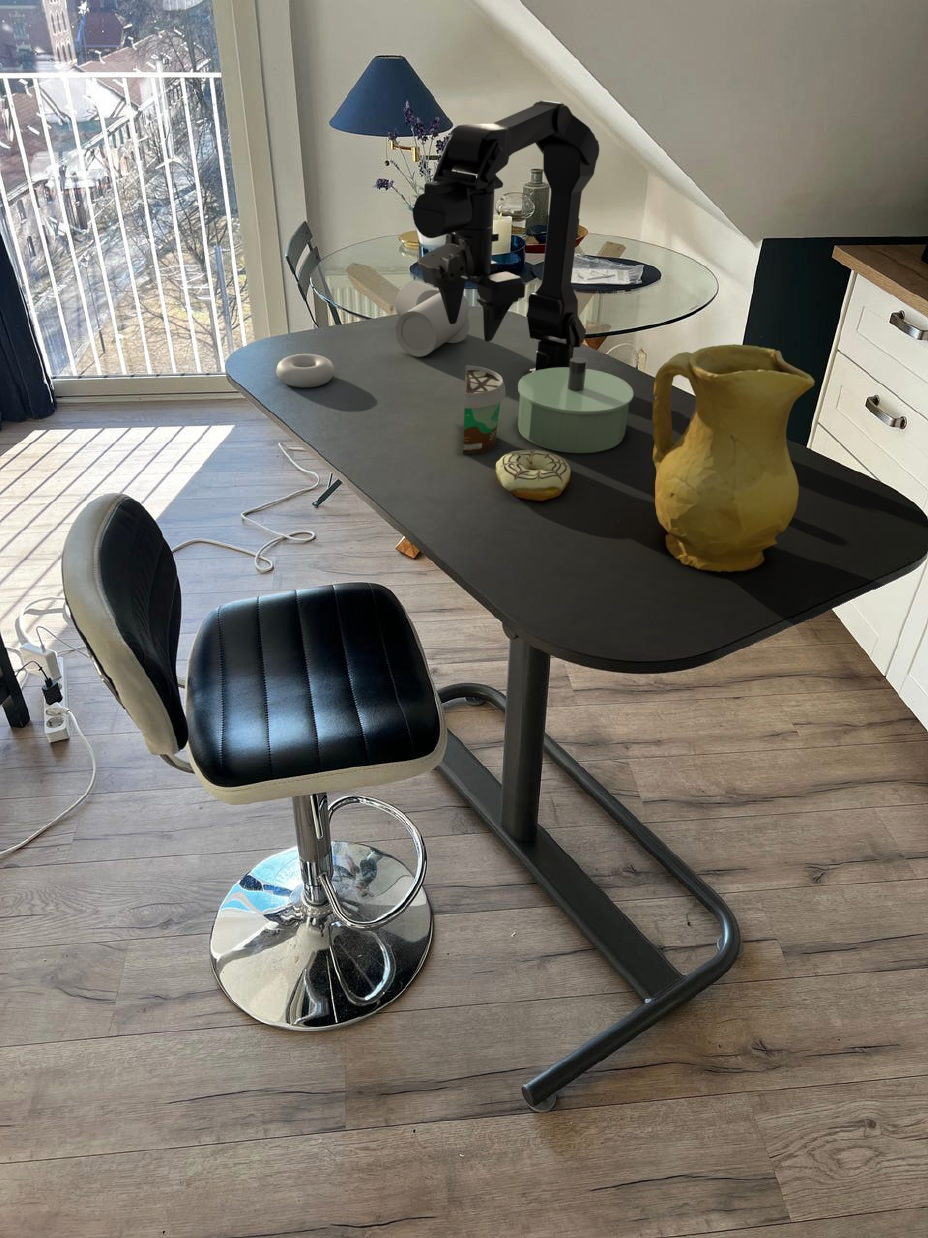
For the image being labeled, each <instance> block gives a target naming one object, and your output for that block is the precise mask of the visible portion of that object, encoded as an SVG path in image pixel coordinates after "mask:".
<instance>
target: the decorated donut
mask: <svg viewBox="0 0 928 1238" xmlns="http://www.w3.org/2000/svg"><path fill="white" fill-rule="evenodd" d="M571 472H572V471H571V467H570V465H569V463H568V462H567V461H566V460H565V459H564V458H563V457H561V456H559V455H557V454H555V453H552V452H549V451H547V450H546V451H545V450H541V449H520V450H514V451H510V452H507V453H505V454H504V455H503V456H501V457H500V459H498V460H497V461H496V463H495V473H496V477H497V479H498V482H499V483H500V486H502V487H503V488H504V489H505V490H506V491H508V492H509V493H511V494H512V495H514V497H516V498H521V499H524V500H528V501H530V500H531V501H539V502H544V501H546V500H549V499H550V500H551V499H554V498H556V497H559V496H560V495H561V494H562V493H563V491H564V490H565V489H566V487H567V486H568V484H569V482H570V479H571V474H572V473H571Z"/></svg>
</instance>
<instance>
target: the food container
mask: <svg viewBox="0 0 928 1238" xmlns="http://www.w3.org/2000/svg"><path fill="white" fill-rule="evenodd" d="M464 378H465V379H464V381H465V382H464V404H463V405H464V408H463V409H464V410H463V432H462V433H463V438H462V455H474V454H481V453H484V452H487V451H489V450H491V449H493V448H494V446H495V444H496V439H497V432H498V431H497V430H498V424H499V416H500V409H501V408H500V407H501V402H502V401H503V400H504V399H505V398H506V395H507V393H506V392H507V391H506V386H505V385H506V384H505V382H504V379H503V377H502V376H501V374H499V373H497V372H496V371H494V370H493V369H489V368H486V367H483V366H477V365H469V364H468V365H467V364H466V365H465V377H464Z"/></svg>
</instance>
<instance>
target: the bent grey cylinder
mask: <svg viewBox="0 0 928 1238" xmlns="http://www.w3.org/2000/svg"><path fill="white" fill-rule="evenodd" d="M469 310H470V306H469V301H468V299H467V297H466V296H465V295H464V294H463V297H462V302H461V306H460V311H459V315H458V319H457V322H456V323H455V324H450V323H449V320H448V317H447V314H446V310H445V307H444V303H443V300H442V297H441V294H440V291H439V289H438V288H436V287H434V286H433V285H430V284H428V283H425V282H424V281H420V280H411V281H408V282H407V283H405V284H404V285H403V286H402V287H401V288H400V289H399V291H398V293H397V295H396V299H395V311H396V314H397V316H398V319H397V322H396V325H395V336H396V339H397V342H398V344H399V346H400V347H401V348H402V350H403V351H405V352H406V353H407V354H409V355H411V356H413V357H417V358H418V357H424V356H427V355H429V354H430V353H432V352H433V351H435V350H437V349H438V348H439V347H441V346H442V345H443V344H444V343H445V344H446V343H447V344H455V343H459V342H462V341H463V340H464V339H466V338H467V336H468V334H469V331H470V320H469V313H470V311H469Z"/></svg>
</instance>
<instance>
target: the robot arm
mask: <svg viewBox="0 0 928 1238" xmlns="http://www.w3.org/2000/svg"><path fill="white" fill-rule="evenodd" d="M534 144H535V145H536V146H537V148H538V149H539V151H540V152H541V153H542V161H543V162H542V169H543V170H542V171H543V174H544V177H545V179H546V181H547V184H548V186H549V188H550V197H549V198H550V199H549V206H548V207H549V208H548V217H547V227H546V237H545V249H544V259H543V269H542V279H541V283H540V284H539V285H538V287H537V288H536V290H535V292H533V293H532V292H531V293H530V294H529V296H528V298H527V300H528V302H527V306H528V307H527V312H526V315H525V317H526V320H527V327H528V333H529V334H528V335H529V338H530V339H533V340H538V342H537V350H536V355H535V367H533V368H530V369H529V371H528V374H529V373H532V372H534V371H538V370H542V369H548V368H558V367H569V366H570V359H571V358H574V348H581V346H582V344H583V343H584V342H585V338H586V334H587V330H586V328H585V326H584V324H583V323H582V320H581V319H580V317H579V316H578V315H579V299H578V298H577V295H576V293H575V290H574V287H573V286H572V279H573V278H572V277H573V271H574V270H573V268H574V261H575V253H576V243H577V237H578V236H577V235H578V226H579V218H580V210H581V208H580V207H581V202H582V195H583V194H582V193H583V190H584V189H585V188H586V187H587V185H588V184H589V182H590V181H591V179H592V177H593V176H594V174H595V170H596V166H597V161H598V159H599V156H600V144H599V141H598V139H597V138H596V136H595V133H594V132H593V131H592V130H591V128H590V127H589V126H588V125H587V124H586V123H584V122H583V121H582V120H580V119H579V118H578V117H576V116H575V115H574V114H573V112H572V111H571V109H570V107H569V106H568V105H565V104H564V103H563V102H558V101H550V100H539V101H536V102H535V103H533V105H532V106H530V107H526V108H525V109H522V110H520V111H518V112H515V113H513V114H511V115H509V116H505V117H504V118H502V119H500V120H497V121H495V122H492V123H468V124H460V125H456V126H455V127H454V128H453V129H452V130H451V132H450V136H449V137H448V139H447V142H446V144H445V146H444V148H443V151H442V154H441V157H440V158H439V161H438V164H437V166H436V169H435V171H434V174H433V177H432V181H433V182H432V181H429V182H426V183H424V187H423V189H424V190H423V193H421V194H420V195H419V196H418V197H417V198H416V200H415V202H414V205H413V207H412V220H413V223H414V226H415V228H416V229H417V231H418V232H419V233H420V234H421V235H422V236H423V237H425V238H426V239H435V238H439V237H443V236H445V242H444V244H443V245H441V246H439V247H436V248H435V249H433V250H431V251H430V252H426V253H425V254H424V255H423V256H421V257H420V258H419V259H418V260H417V265H418V268H419V270H420V274H421V277H422V280H423V283H425V284H429V285H431V286H433V287H434V288H436V289H438V290H439V291H440V294H441V297H442V300H443V303H444V307H445V310H446V314H447V317H448V320H449V323H450V324H455V323H456V322H457V319H458V315H459V311H460V306H461V302H462V297H463V295H464V292H465V287H466V282H467V281H469V282H470V283H473V284H475V285H477V286H476V287H477V288H476V289H477V290H476V292H477V294H478V296H479V297H478V298H476V300H475V301H476V302H477V303H478V304H479V305H480V306H481V308H482V314H483V315H482V317H483V318H482V319H483V337H484V341H485V342H486V343H489V342H492V341H493V339H494V337H495V335H496V333H497V331H498V329H499V328H500V326H501V324H502V322H503V320H504V318H505V317H506V315H507V314H508V312H509V310H510V308H512V305H513V304H514V303H515V302H518V301H519V299H523V298H525V296H526V282H525V281H524V279H523V278H522V277H521V276H520V275H516V274H514V273H511V272H509V271H503V272H497V273H492V274H491V272H495V271H497V270H498V262H496V261H494V260H493V259H492V257H493V242H499V240H500V239H499V238H500V233H498V232H495V231H494V214H495V213H494V211H495V210H494V209H495V190H498V189H501V188H503V187H504V182H503V181H502V180H501V179H500V178H499V177H498V176H497V175H496V174H498V173H499V172H500V171H502V170H503V169H504V168H505V167H506V166H507V165H508V164H509V161H510V156H512V155H513V154H515V153H517V152H519V151H521V150H523V149H526V148H528V147H530V146H532V145H534Z"/></svg>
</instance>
